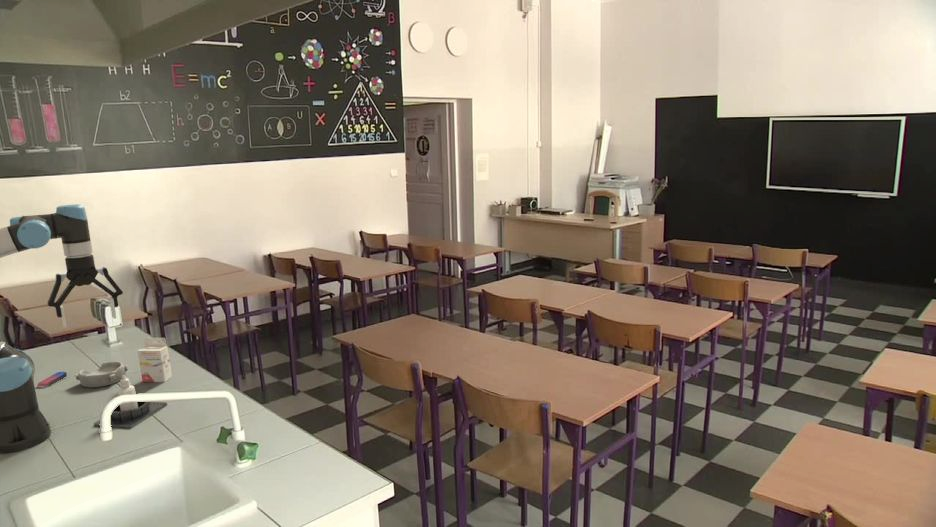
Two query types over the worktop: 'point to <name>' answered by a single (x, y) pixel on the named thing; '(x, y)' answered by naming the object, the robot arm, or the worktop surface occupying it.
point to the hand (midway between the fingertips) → (90, 322)
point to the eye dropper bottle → (127, 389)
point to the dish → (102, 375)
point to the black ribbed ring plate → (134, 414)
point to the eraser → (52, 380)
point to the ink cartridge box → (154, 361)
